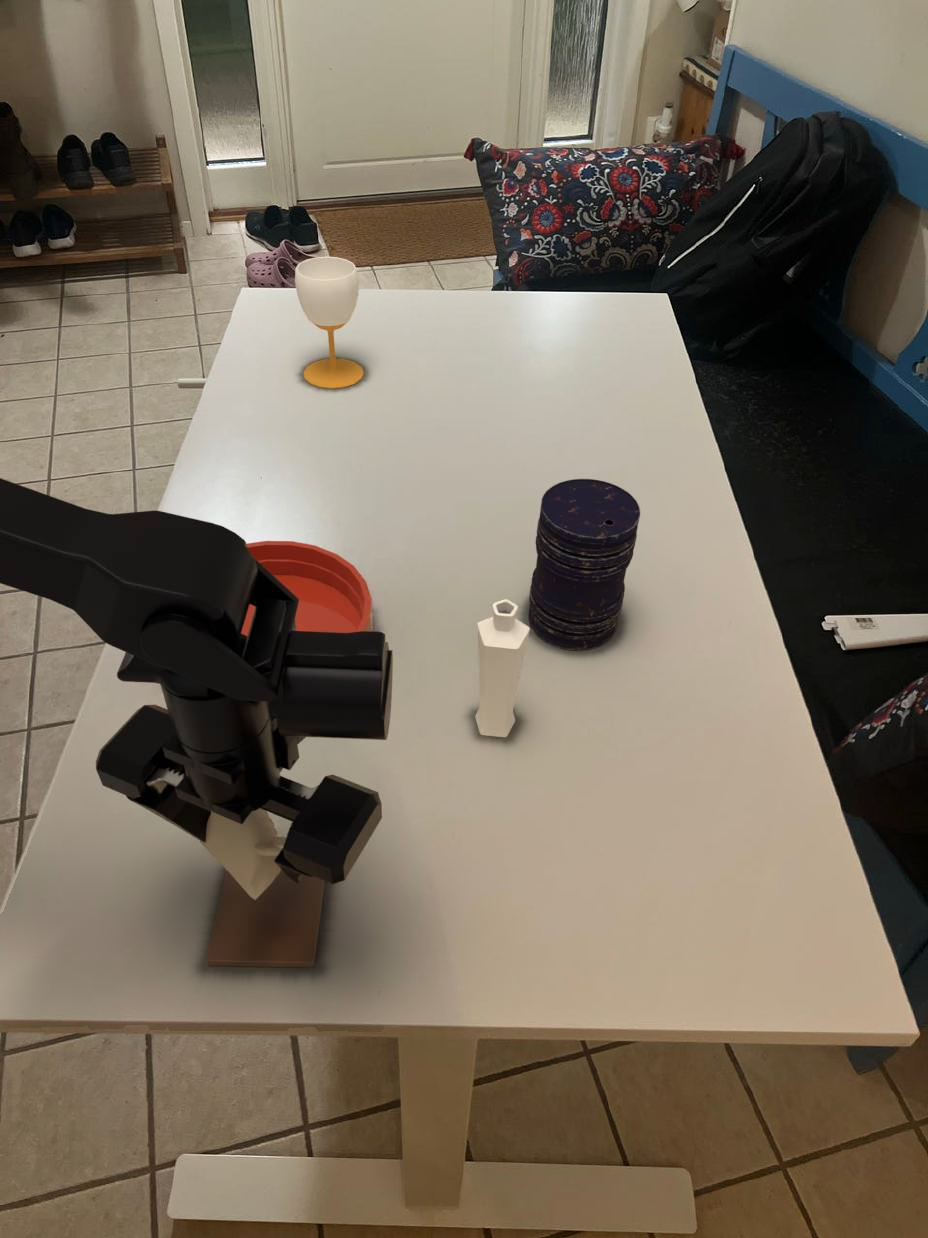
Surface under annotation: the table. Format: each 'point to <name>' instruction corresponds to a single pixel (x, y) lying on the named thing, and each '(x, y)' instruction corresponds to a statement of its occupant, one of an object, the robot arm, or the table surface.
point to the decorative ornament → (246, 849)
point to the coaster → (267, 924)
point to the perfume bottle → (499, 668)
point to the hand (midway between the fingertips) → (253, 856)
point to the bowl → (316, 587)
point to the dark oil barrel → (581, 562)
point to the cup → (329, 314)
